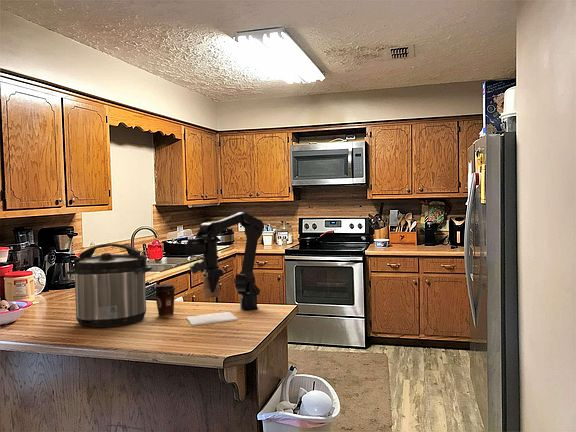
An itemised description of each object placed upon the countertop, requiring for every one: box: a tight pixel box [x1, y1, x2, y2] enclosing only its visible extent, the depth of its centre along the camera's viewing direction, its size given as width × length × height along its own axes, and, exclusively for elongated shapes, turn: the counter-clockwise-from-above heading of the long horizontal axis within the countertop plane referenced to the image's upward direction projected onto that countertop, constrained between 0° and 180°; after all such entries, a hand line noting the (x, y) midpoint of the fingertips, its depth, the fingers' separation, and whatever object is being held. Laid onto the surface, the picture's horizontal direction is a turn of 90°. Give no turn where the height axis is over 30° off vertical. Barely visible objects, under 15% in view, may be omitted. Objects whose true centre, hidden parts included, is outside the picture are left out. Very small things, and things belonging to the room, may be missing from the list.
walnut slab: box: [202, 277, 221, 299], centre depth 193 cm, size 6×2×8 cm, turn 111°
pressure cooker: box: [66, 243, 153, 328], centre depth 196 cm, size 30×28×32 cm
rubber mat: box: [185, 311, 239, 327], centre depth 192 cm, size 18×14×1 cm
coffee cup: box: [153, 283, 176, 318], centre depth 202 cm, size 9×8×13 cm
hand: (212, 291), depth 194 cm, fingers closed on walnut slab, 2 cm apart
